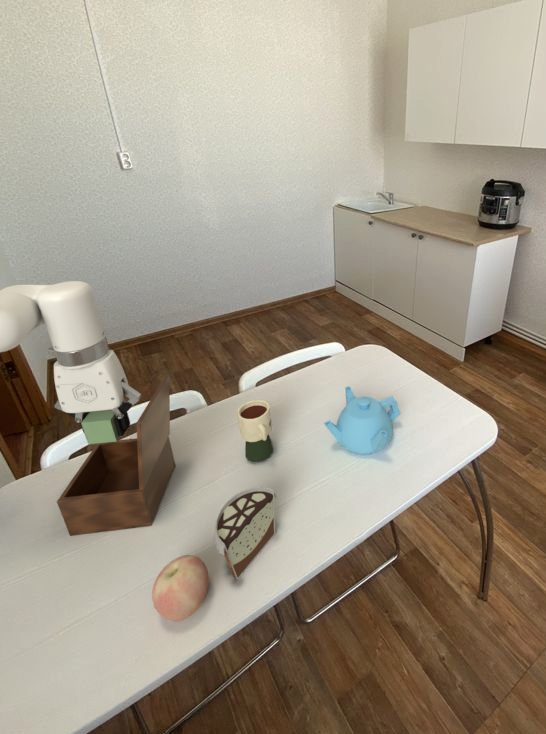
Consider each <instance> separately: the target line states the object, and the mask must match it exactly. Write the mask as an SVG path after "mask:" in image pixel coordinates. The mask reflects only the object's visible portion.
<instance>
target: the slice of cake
mask: <svg viewBox="0 0 546 734" xmlns="http://www.w3.org/2000/svg"><path fill="white" fill-rule="evenodd" d="M275 498H278V495H277V492H276V491H275V490H273V489H272V488H268V487H262V486H259V487H251V488H247V489H244V490H242V491H240V492H238V493H236V494H235V495H234V496H232V497H231V498H229V500H227V501H226V503H225V504H224V505H223V506H222V508H221V509H220V511H219V513H218V515H217V518H216V521H215V525H214V534H213V535H214V537H213V539H214V540H213V541H214V545H215V547H216V549H217V551H218V552H219V554H221V556H222V557H224V558H225V561H226V563H227V566H228V569H229V572H230V574H231V575H232V578H234V579H235V580H236V581H238V580H239V579H240V578H241V577H242V576H243V575H244V573H245V572H246V571H247V570H248V569H249V568H250V566H251V565H252V563H253V562H254V561H255V560H256V559H257V557H258V556H259V555H260V554H261V552H262V551H263V550H264V549H265V548H266V546H268V544H269V543H270V541H271V540H272V539H273V538H274V537H275V536H276V503H275V502H276V501H275V500H276V499H275Z"/></svg>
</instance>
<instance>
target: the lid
mask: <svg viewBox="0 0 546 734" xmlns="http://www.w3.org/2000/svg"><path fill="white" fill-rule="evenodd" d="M170 375H171V374H168V373H166V374H165V375H164V377H163V378H162V380H161V382H160V383H159V385H158V387H157V388H156V390H155V392H154V393H153V395H152V396H151V398H150V400H149V401H148V403H147V405H146V406H145V408H144V410H143V412H142V413H141V415H140V416H139V418H138V419H137V421H136V438H137V446H138V471H139V490H143V489H144V487H145V485H146V483H147V481H148V479H149V477H150V475H151V472H152V470H153V468H154V466H155V464H156V462H157V460H158V458H159V456H160V453H161V451H162V449H163V447H164V445H165V443H166V441H167V439H168V436H169V437H170V434H171V411H170V410H171V409H170V408H171V401H170V400H171V399H170V398H171V395H170V389H171V386H170V384H171V383H170V382H171V380H170Z"/></svg>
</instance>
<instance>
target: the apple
mask: <svg viewBox="0 0 546 734" xmlns="http://www.w3.org/2000/svg"><path fill="white" fill-rule="evenodd" d="M209 582H210V576H209V570H208V568H207V566H206V563H205V562H204V561H203V560H202V559H201V558H200V557H199V556H197V555H194V554H185V555H181V556H179V557H176V558H175V559H173V560H171V561H170V562H169V563H167V565H165V566H164V567H163V569H162V570H161V571H160V572H159V573H158V575H157V577H156V578H155V580H154V583H153V586H152V591H151V598H152V600H151V601H152V604H153V607H154V609H155V610H156V612H157V613H158V614H159V615H160V617H162V618H163V619H165V620H167V621H171V622H180V621H184V620H186V619H188V618H189V617H191V616H192V615H194V613H195V612H196V611H197V610H199V608H200V607H201V606H202V604H203V602H204V600H205V598H206V595H207V593H208V588H209Z"/></svg>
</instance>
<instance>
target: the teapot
mask: <svg viewBox="0 0 546 734" xmlns="http://www.w3.org/2000/svg"><path fill="white" fill-rule="evenodd" d="M345 402H346V403H345V406H344V408H343V409H342V410H341V412H340V414H339V416H338V418H337V421H336V424H335V423H334V422H333V421H331V420H330V419H328V420H327V421H324V422H323V424H324V426H325V427H326V428H327V430H328V431H329V432H330V433H331V435H332V436H333V437H334V438H335V439H336V441H337V442H338V443H339V444H340V445H341V446H342V447H343V448H344V449H346V450H347V451H349V452H350V453H353V454H355V455H362V456H365V455H372V454H376V453H377V452H380V451H381V450H383V449H384V448H385V447H387V445H388V444H389V443H390V442H391V440H392V439H393V432H394V430H393V429H394V428H393V422H394V421H395V420H396V419H397V418H398V417H399V416H400V415H401V410H400V407H399V406H398V405H399V404H398V403H397V400H396V398H395V397H394V396H393V395H391V396H388V397H386V398H384V399H382V400H380V401H378V400H377V399H376V398H374V397H370V396H359V397H356V396H355V394H354V392H353V389H352V387H351V386H349V385H348V386H345ZM387 408H390V409H389V410H387Z"/></svg>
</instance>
